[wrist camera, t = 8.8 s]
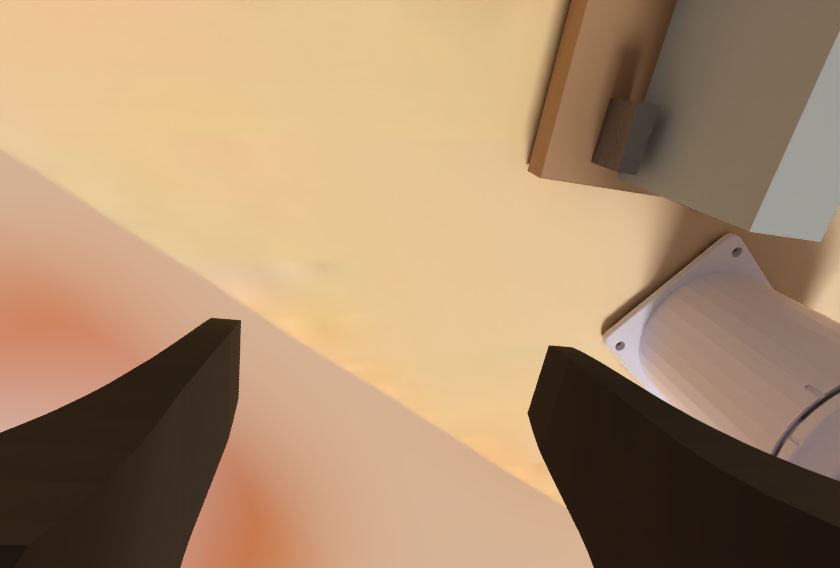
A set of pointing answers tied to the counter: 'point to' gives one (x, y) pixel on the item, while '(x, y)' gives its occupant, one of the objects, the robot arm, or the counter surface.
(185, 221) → the counter surface
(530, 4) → the counter surface
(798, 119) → the grey rectangular block
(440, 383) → the counter surface
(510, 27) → the counter surface
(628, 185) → the cabinet base
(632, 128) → the short dark cabinet legs
